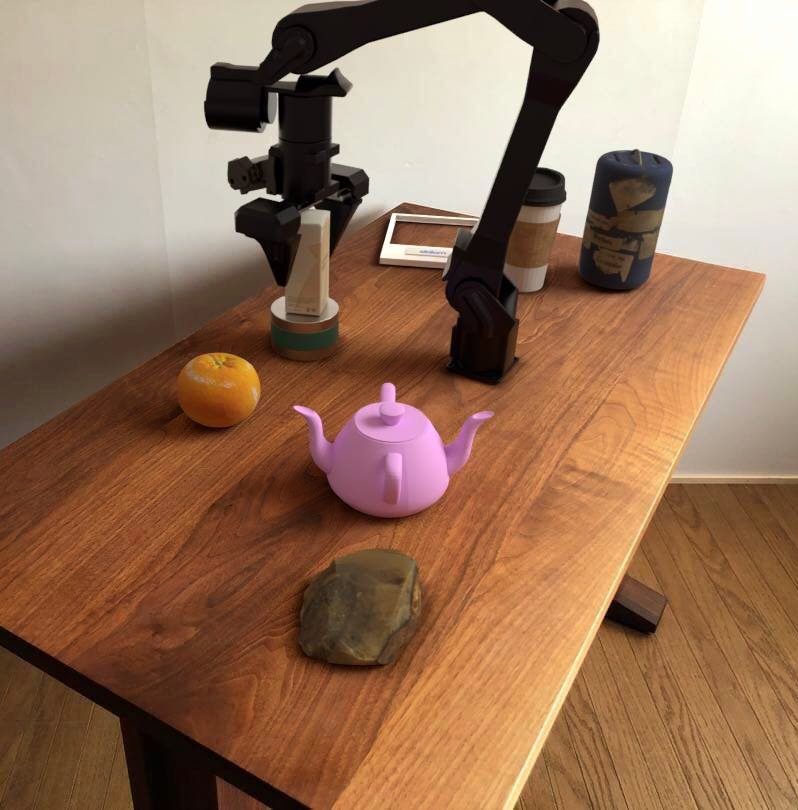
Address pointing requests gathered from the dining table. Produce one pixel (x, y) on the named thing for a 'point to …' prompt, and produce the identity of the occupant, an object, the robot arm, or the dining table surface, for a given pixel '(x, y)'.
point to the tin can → (304, 332)
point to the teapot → (389, 456)
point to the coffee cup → (535, 230)
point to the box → (310, 266)
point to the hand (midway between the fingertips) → (304, 271)
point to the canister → (624, 218)
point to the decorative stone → (361, 608)
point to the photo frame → (418, 254)
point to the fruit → (218, 389)
